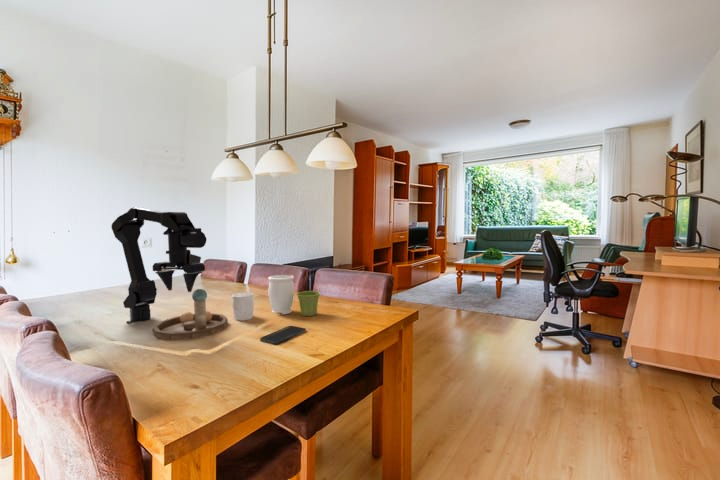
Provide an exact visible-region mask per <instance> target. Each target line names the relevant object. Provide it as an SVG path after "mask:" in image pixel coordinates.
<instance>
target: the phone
mask: <svg viewBox="0 0 720 480" xmlns="http://www.w3.org/2000/svg"><path fill="white" fill-rule="evenodd" d="M305 332H307V329H306V328H305V327H300V326H294V325H288V326H285V327H283V328H281V329H278V330H276V331H273V332H271V333H269V334H266V335H264V336H262V337H260V339H259V341H260V342H262V343H267V344H270V345H275V346H278V345H281V344H283V343H286V342H287V341H290V340H291V339H293V338H296V337H297V336H298V337H299V335H302V334H304V333H305Z"/></svg>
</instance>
